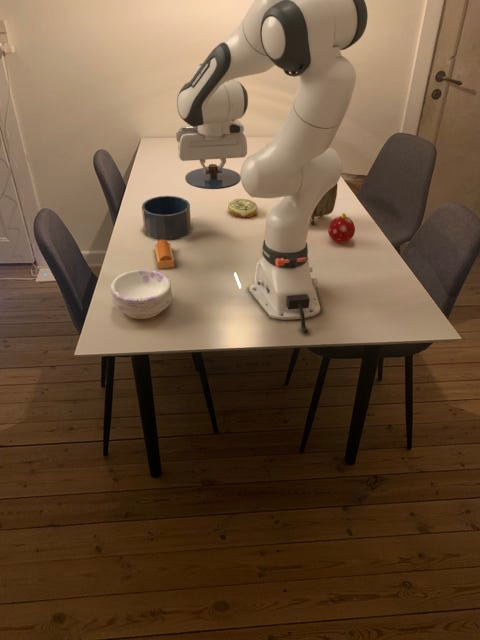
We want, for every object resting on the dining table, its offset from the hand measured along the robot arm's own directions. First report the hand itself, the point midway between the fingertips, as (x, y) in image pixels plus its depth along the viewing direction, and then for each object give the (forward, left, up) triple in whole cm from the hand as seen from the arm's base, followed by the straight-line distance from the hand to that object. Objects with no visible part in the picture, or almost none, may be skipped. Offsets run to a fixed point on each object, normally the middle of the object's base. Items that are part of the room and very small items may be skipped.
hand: (213, 173), depth 146 cm
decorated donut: (+19, -14, -23) cm, 33 cm away
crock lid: (0, 0, -2) cm, 2 cm away
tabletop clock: (+7, -36, -23) cm, 43 cm away
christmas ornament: (-8, -41, -23) cm, 48 cm away
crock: (+11, +14, -23) cm, 29 cm away
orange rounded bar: (-9, +17, -23) cm, 30 cm away
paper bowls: (-34, +25, -23) cm, 48 cm away
